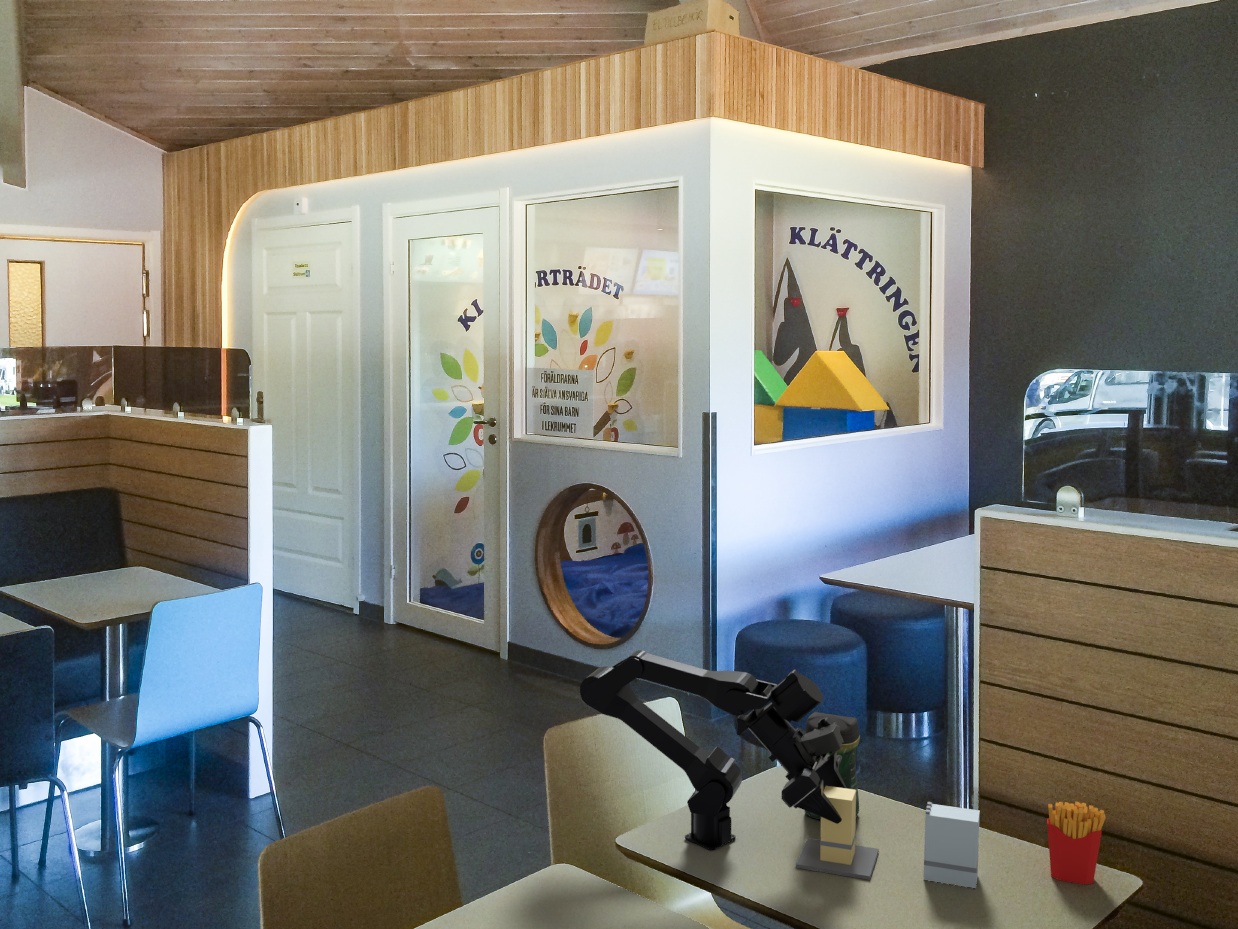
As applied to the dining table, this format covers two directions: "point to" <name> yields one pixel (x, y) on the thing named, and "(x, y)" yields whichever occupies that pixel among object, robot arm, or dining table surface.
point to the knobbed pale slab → (951, 845)
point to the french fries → (1074, 841)
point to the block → (839, 827)
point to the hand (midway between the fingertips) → (844, 810)
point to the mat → (858, 868)
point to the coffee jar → (841, 750)
